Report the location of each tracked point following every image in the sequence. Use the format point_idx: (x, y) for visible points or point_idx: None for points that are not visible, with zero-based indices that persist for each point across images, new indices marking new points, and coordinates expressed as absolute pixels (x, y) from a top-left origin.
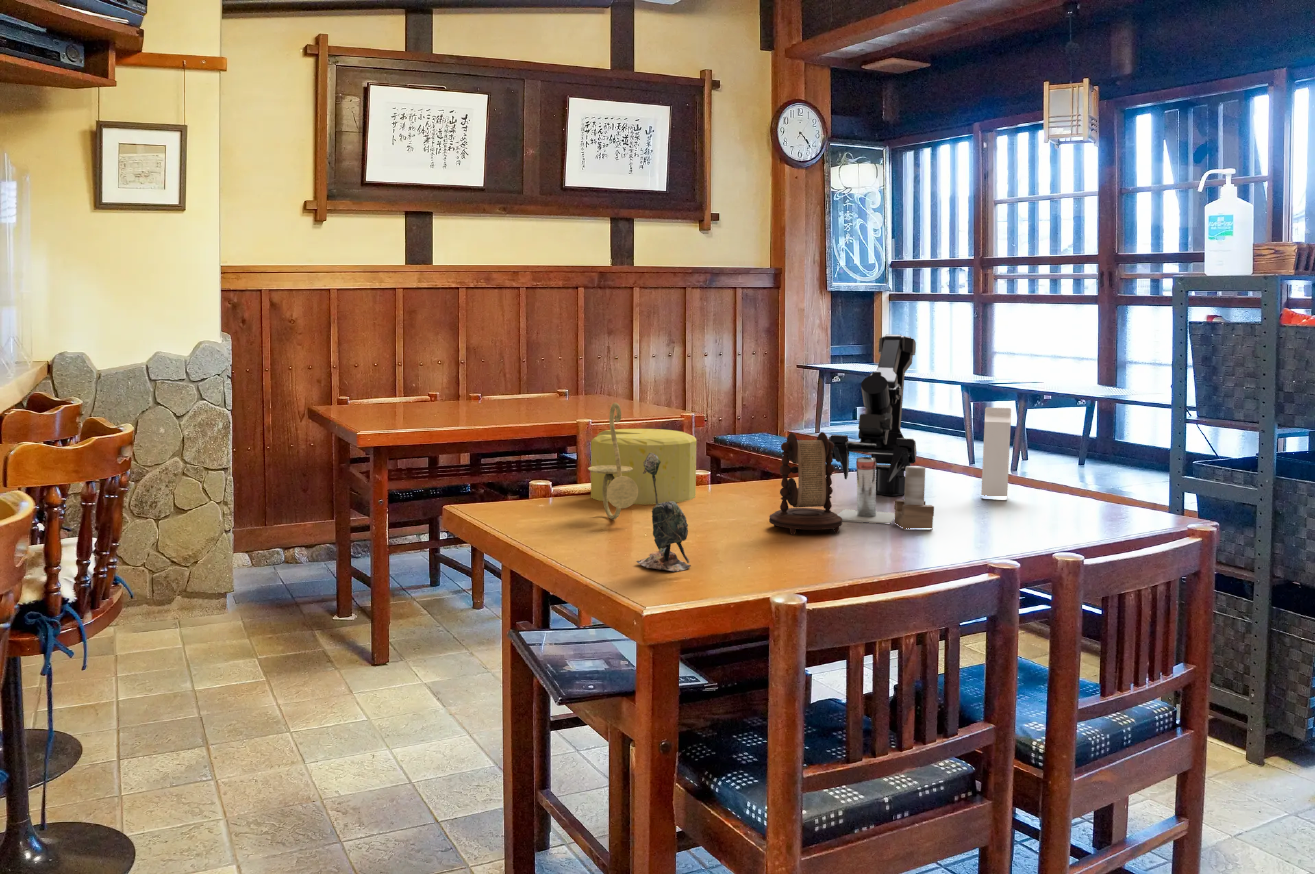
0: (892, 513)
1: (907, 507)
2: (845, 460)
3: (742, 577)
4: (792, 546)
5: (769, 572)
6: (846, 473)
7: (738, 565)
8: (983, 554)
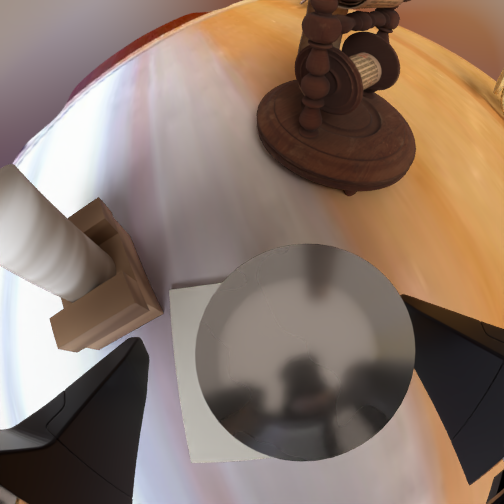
0: (206, 451)
1: (94, 201)
2: (479, 335)
3: (262, 13)
4: (282, 60)
5: (250, 19)
6: (404, 303)
7: (285, 22)
8: (42, 146)
